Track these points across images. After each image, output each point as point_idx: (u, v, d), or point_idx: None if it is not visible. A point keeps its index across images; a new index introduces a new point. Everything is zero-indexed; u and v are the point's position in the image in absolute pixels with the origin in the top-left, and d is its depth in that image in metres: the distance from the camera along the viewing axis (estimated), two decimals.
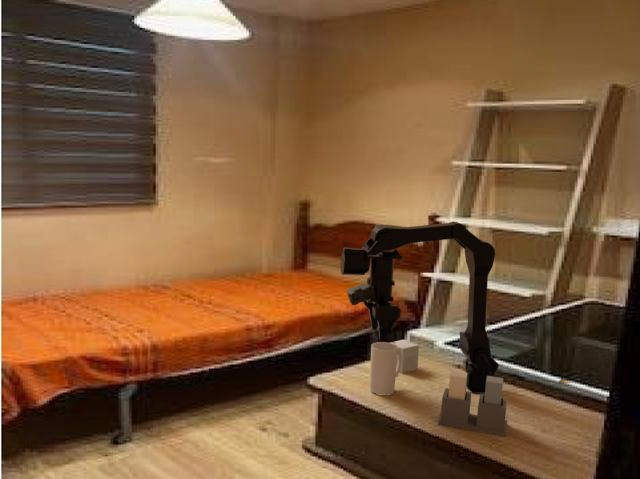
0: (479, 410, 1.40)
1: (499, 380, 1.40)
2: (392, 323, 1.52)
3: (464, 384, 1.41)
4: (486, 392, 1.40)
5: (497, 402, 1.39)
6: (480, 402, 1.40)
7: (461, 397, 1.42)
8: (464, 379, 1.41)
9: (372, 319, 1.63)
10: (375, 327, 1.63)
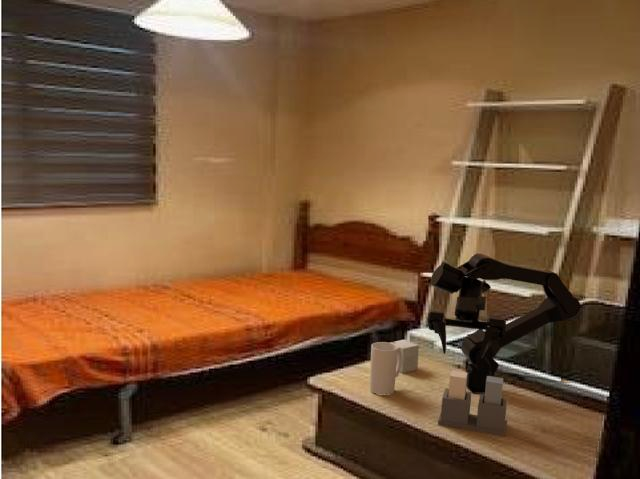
0: (479, 410, 1.40)
1: (499, 380, 1.40)
2: (490, 343, 1.52)
3: (464, 384, 1.41)
4: (486, 392, 1.40)
5: (497, 402, 1.39)
6: (480, 402, 1.40)
7: (461, 397, 1.42)
8: (464, 379, 1.41)
9: (445, 341, 1.52)
10: (445, 351, 1.52)
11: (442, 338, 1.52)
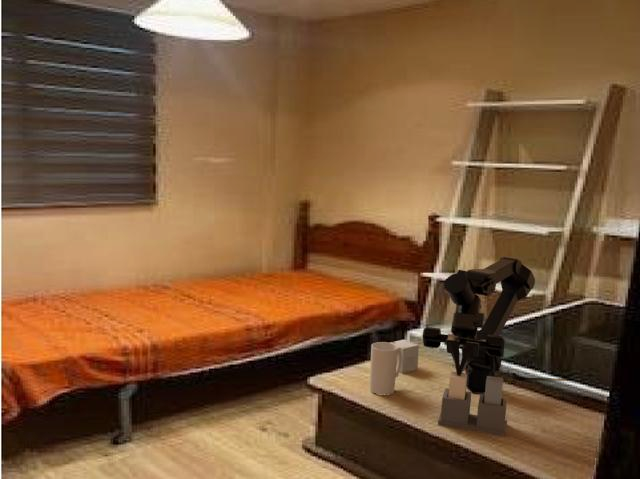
0: (479, 410, 1.40)
1: (499, 380, 1.40)
2: (469, 359, 1.46)
3: (464, 385, 1.41)
4: (486, 392, 1.40)
5: (497, 402, 1.39)
6: (480, 402, 1.40)
7: (461, 398, 1.42)
8: (464, 380, 1.41)
9: (459, 362, 1.44)
10: None
11: (456, 358, 1.44)
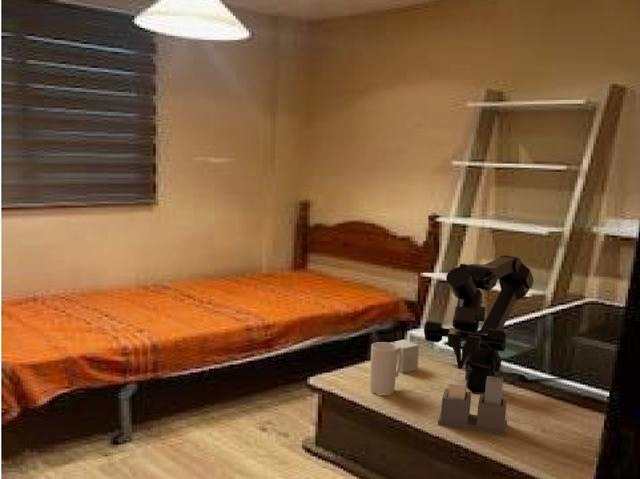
0: (479, 410, 1.40)
1: (499, 380, 1.40)
2: (471, 353, 1.46)
3: (463, 392, 1.41)
4: (486, 392, 1.40)
5: (497, 402, 1.39)
6: (480, 402, 1.40)
7: None
8: (463, 387, 1.41)
9: (460, 356, 1.43)
10: None
11: (457, 352, 1.43)
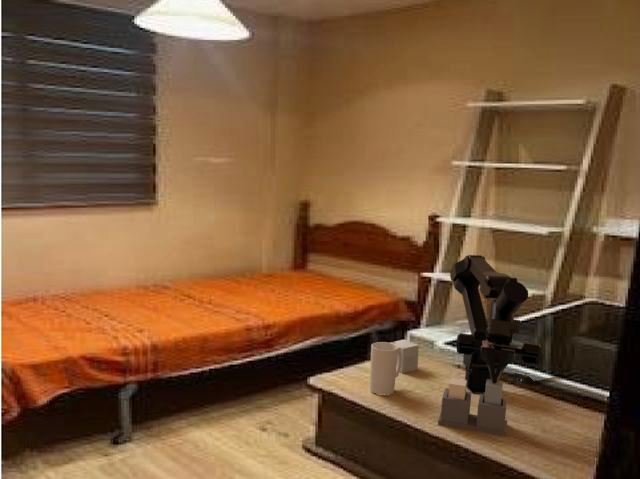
0: (479, 410, 1.40)
1: (499, 383, 1.40)
2: (504, 367, 1.44)
3: (463, 392, 1.41)
4: (486, 395, 1.40)
5: None
6: (480, 402, 1.40)
7: None
8: (463, 387, 1.41)
9: (494, 369, 1.41)
10: None
11: (491, 366, 1.42)
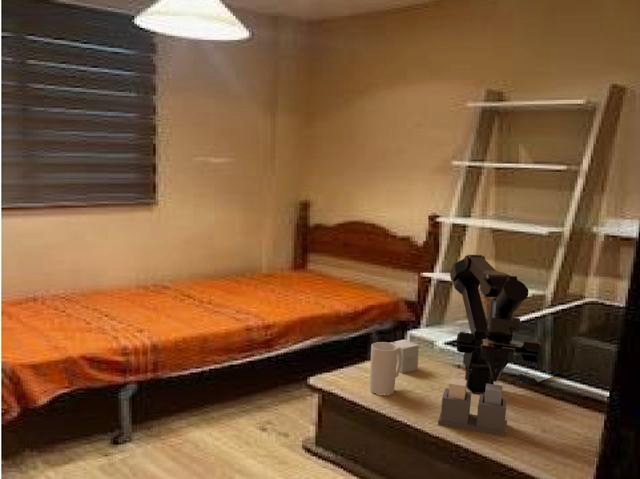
0: (479, 410, 1.40)
1: (498, 388, 1.41)
2: (505, 365, 1.44)
3: (463, 392, 1.41)
4: (485, 400, 1.40)
5: None
6: (480, 402, 1.40)
7: None
8: (463, 387, 1.41)
9: (495, 368, 1.41)
10: None
11: (491, 364, 1.41)
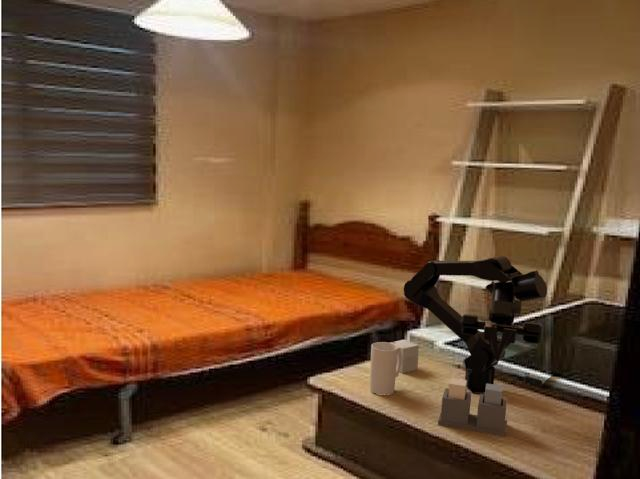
0: (479, 410, 1.40)
1: (498, 388, 1.41)
2: (507, 346, 1.51)
3: (463, 392, 1.41)
4: (485, 400, 1.40)
5: None
6: (480, 402, 1.40)
7: None
8: (463, 387, 1.41)
9: (497, 348, 1.48)
10: None
11: (494, 345, 1.49)
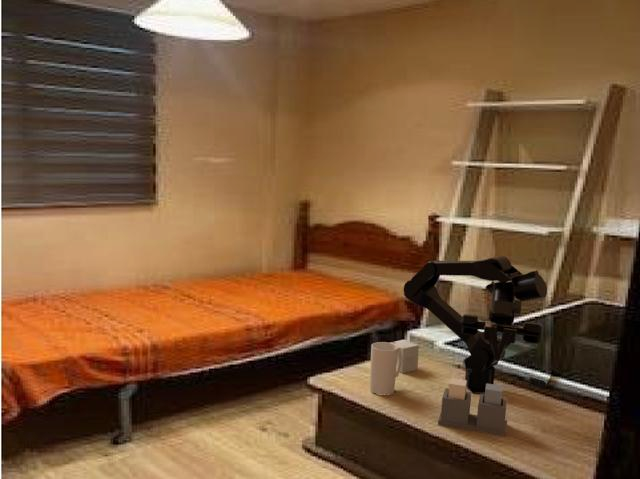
0: (479, 410, 1.40)
1: (498, 388, 1.41)
2: (507, 346, 1.51)
3: (463, 392, 1.41)
4: (485, 400, 1.40)
5: None
6: (480, 402, 1.40)
7: None
8: (463, 387, 1.41)
9: (497, 348, 1.48)
10: None
11: (494, 345, 1.49)
